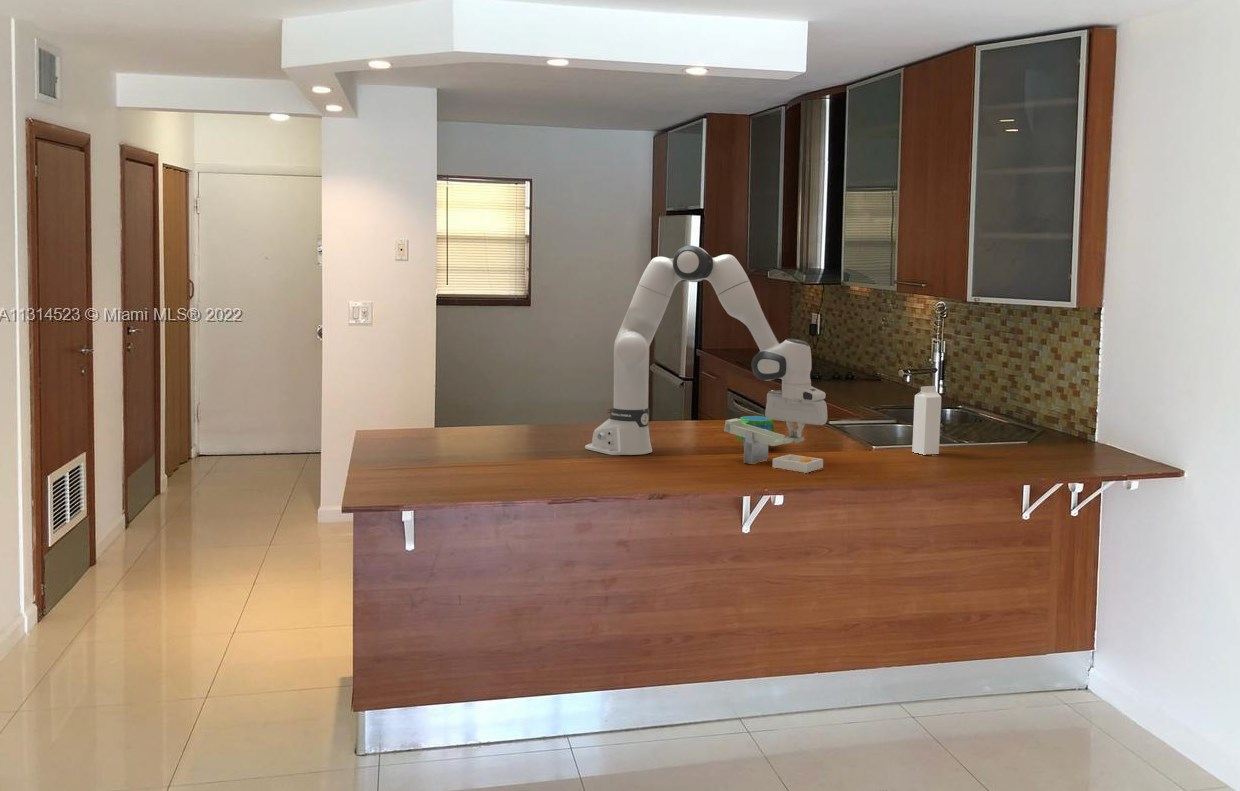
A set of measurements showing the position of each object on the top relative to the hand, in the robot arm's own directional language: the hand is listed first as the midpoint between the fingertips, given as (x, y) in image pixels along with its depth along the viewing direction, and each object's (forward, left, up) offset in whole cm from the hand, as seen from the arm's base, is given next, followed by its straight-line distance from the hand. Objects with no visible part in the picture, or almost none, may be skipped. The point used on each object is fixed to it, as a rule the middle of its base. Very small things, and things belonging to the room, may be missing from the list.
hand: (795, 436), depth 339 cm
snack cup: (-21, +10, -8) cm, 24 cm away
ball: (+10, -10, -6) cm, 15 cm away
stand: (-8, -10, -8) cm, 15 cm away
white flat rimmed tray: (+7, -10, -8) cm, 15 cm away
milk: (+25, +39, -8) cm, 47 cm away
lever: (-8, -5, 0) cm, 10 cm away
